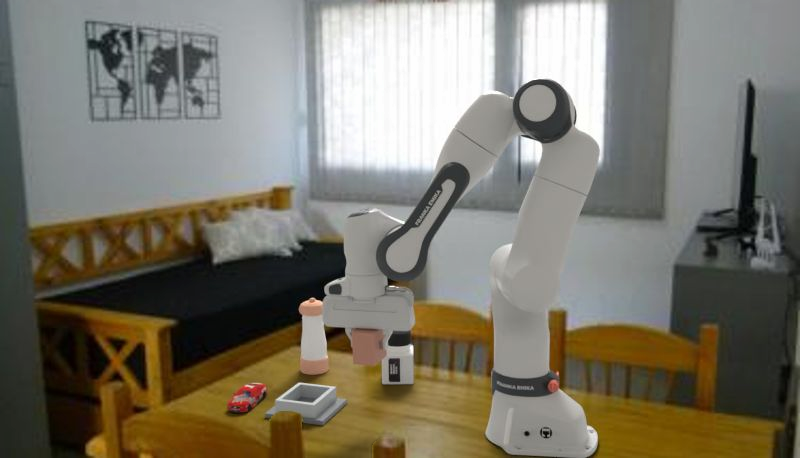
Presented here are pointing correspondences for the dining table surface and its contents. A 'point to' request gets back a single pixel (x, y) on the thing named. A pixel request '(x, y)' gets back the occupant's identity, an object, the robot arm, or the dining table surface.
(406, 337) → the container
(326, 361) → the salt shaker
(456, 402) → the dining table surface
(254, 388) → the race car
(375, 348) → the pink upright box
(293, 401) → the square socket base
